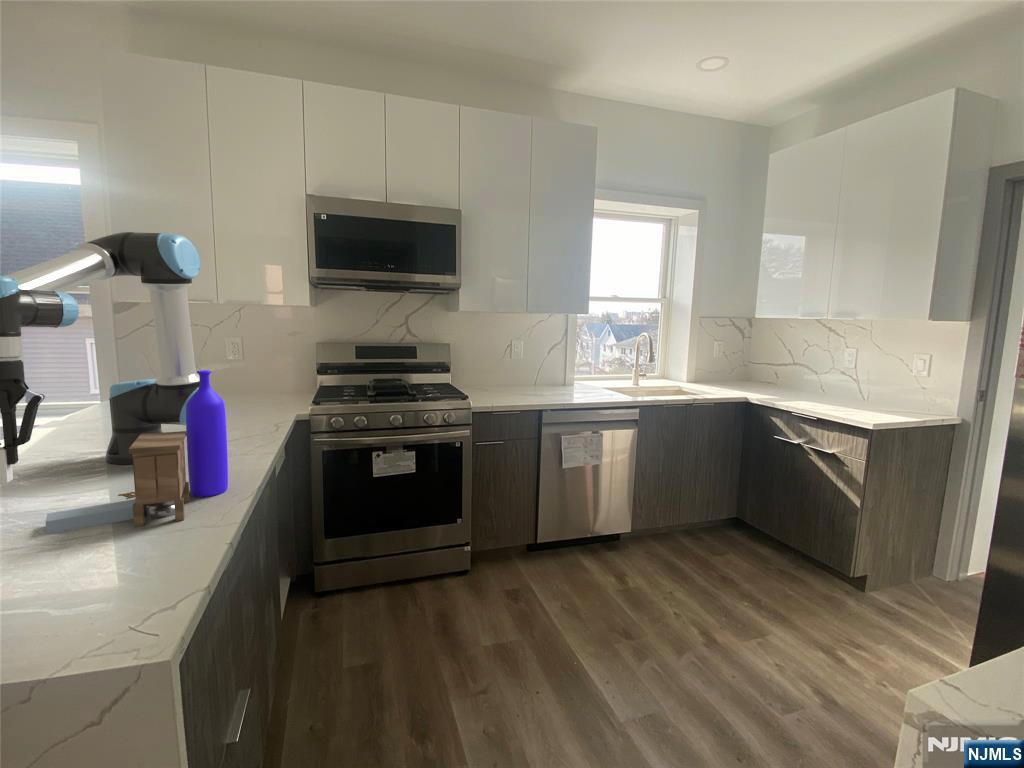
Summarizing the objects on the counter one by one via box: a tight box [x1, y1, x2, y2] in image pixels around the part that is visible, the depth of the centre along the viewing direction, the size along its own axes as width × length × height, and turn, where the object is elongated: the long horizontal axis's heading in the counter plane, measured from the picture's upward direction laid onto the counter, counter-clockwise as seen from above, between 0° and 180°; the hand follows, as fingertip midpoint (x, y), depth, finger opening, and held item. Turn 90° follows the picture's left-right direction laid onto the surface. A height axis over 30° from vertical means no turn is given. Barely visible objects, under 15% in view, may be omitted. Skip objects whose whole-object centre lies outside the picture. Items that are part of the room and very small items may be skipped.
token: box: [145, 501, 175, 519], centre depth 108 cm, size 6×6×2 cm
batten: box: [45, 498, 136, 535], centre depth 103 cm, size 5×15×3 cm, turn 130°
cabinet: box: [129, 430, 190, 528], centre depth 107 cm, size 14×8×16 cm, turn 28°
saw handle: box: [117, 491, 135, 500], centre depth 126 cm, size 24×5×1 cm, turn 143°
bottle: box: [185, 369, 229, 498], centre depth 120 cm, size 8×8×30 cm
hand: (5, 481), depth 95 cm, fingers closed
